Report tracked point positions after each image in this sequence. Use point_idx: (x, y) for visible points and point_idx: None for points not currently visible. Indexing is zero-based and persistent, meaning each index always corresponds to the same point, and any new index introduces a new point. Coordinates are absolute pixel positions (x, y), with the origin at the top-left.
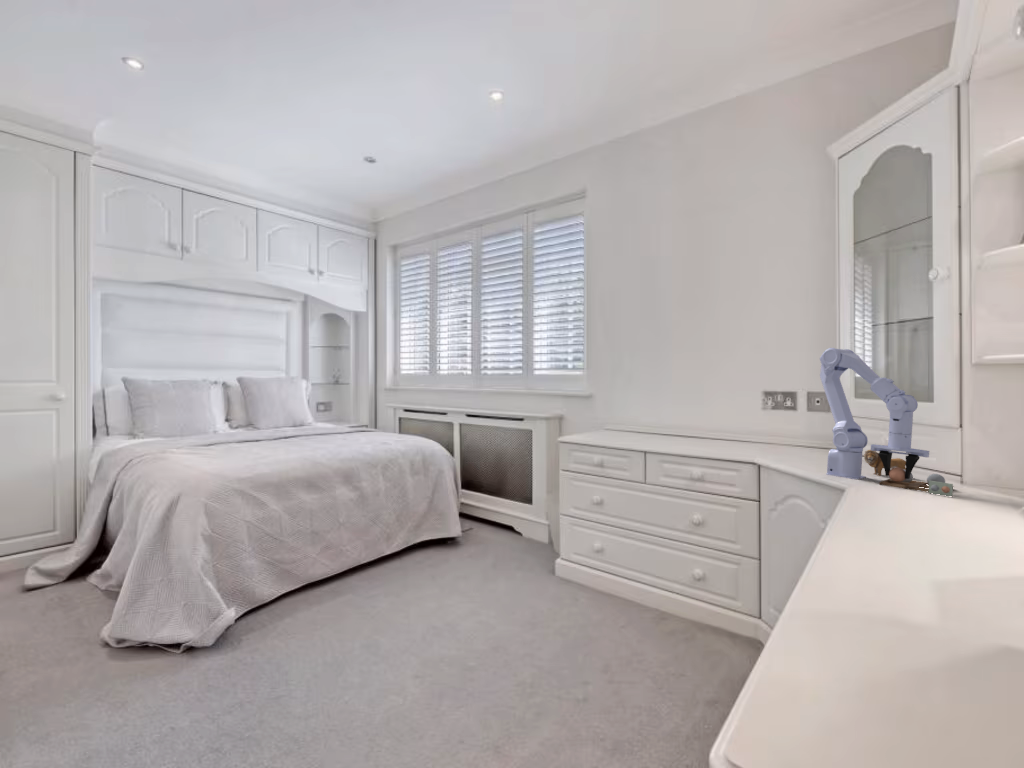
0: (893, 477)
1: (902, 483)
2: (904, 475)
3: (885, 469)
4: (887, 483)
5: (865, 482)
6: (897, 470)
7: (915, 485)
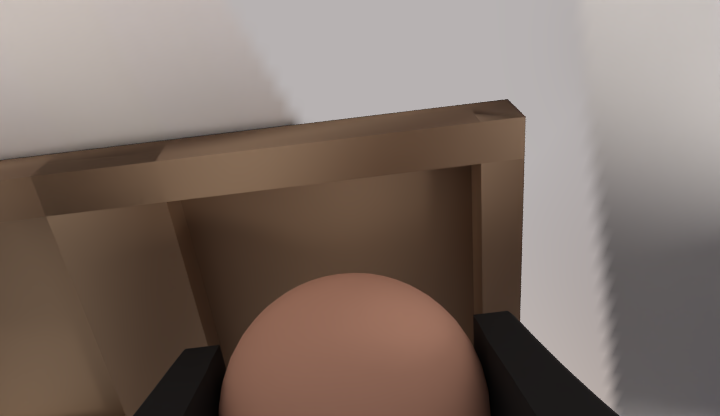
0: (371, 275)
1: None
2: (223, 383)
3: (554, 372)
4: (410, 129)
5: (705, 148)
6: (322, 400)
7: (134, 351)
